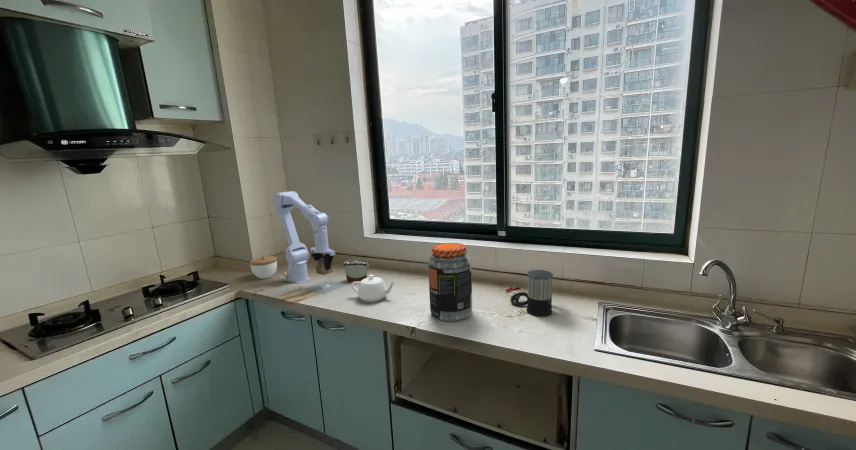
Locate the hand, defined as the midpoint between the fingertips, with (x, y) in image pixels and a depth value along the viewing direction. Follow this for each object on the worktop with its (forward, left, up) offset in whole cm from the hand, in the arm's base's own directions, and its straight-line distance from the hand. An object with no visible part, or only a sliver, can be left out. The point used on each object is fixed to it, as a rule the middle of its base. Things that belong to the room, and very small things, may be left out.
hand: (324, 268), depth 167 cm
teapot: (+29, +1, -9) cm, 30 cm away
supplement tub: (+65, +4, -9) cm, 66 cm away
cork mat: (-2, -14, -9) cm, 17 cm away
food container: (+7, +14, -9) cm, 18 cm away
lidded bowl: (-41, -5, -9) cm, 42 cm away
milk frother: (+89, +23, -9) cm, 92 cm away
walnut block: (0, 0, -2) cm, 2 cm away
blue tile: (0, 0, -9) cm, 9 cm away
